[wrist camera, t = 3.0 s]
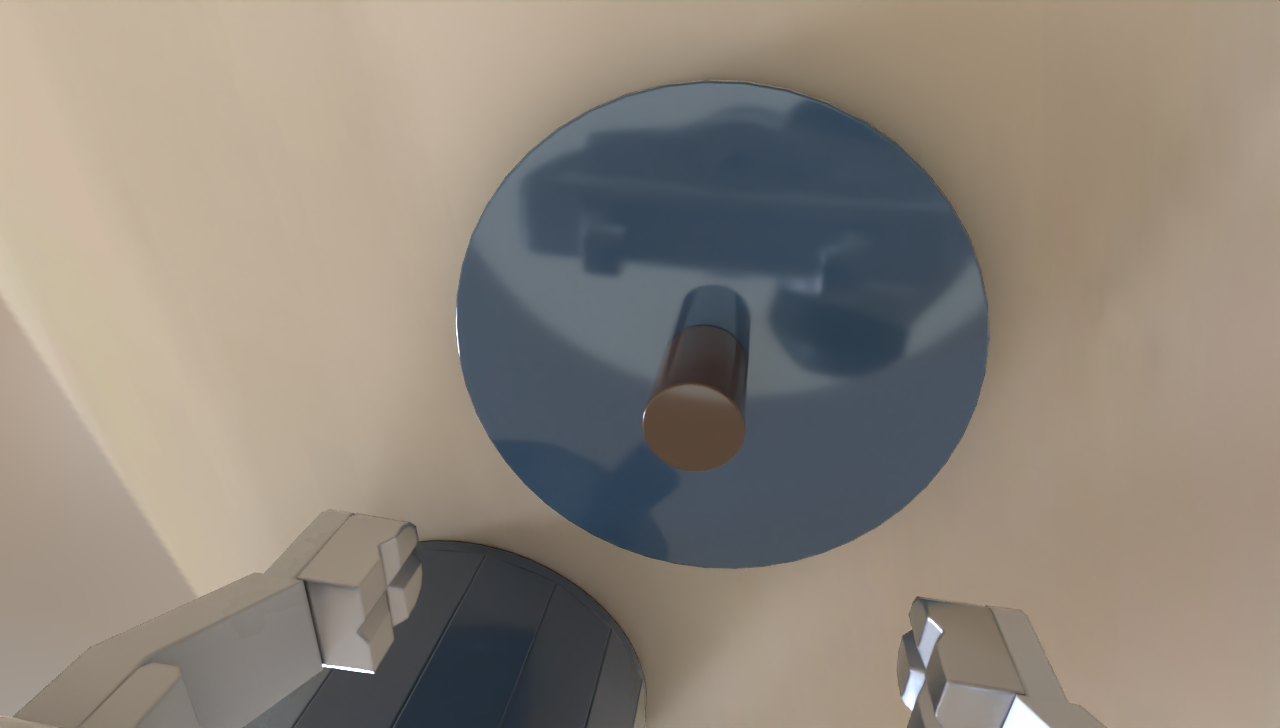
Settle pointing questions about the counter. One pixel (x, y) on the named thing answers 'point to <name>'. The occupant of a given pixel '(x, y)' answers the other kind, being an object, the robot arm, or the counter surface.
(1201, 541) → the counter surface
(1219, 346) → the counter surface
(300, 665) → the robot arm
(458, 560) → the pot
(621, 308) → the lid
